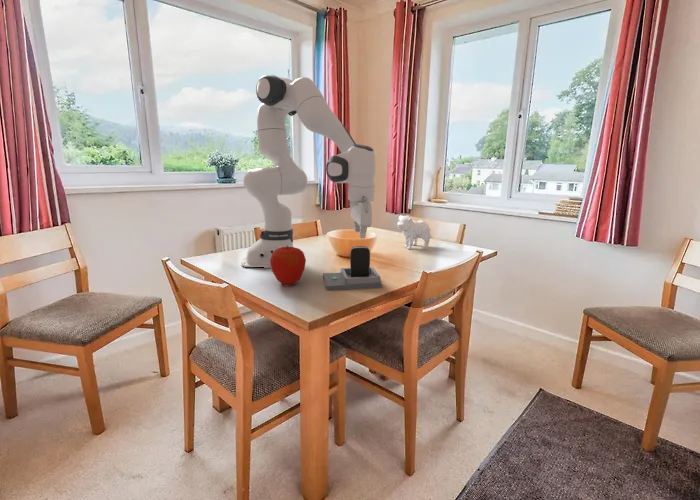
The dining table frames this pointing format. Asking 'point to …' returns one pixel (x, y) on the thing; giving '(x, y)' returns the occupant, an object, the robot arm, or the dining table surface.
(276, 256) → the apple
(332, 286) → the charging dock
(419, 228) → the white dog figurine
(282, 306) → the dining table surface
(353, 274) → the battery
